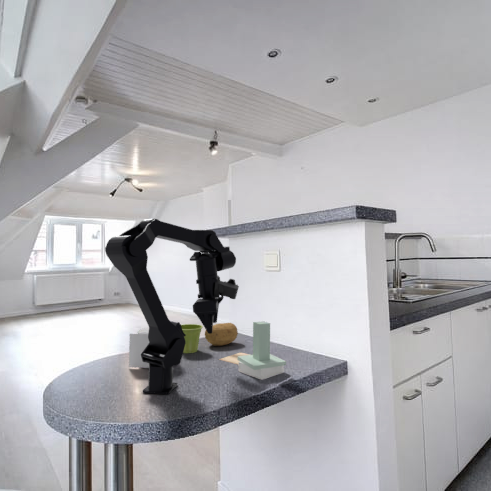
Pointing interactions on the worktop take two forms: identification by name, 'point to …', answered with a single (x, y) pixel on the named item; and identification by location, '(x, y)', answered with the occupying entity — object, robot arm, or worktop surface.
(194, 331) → the plant pot
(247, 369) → the dish
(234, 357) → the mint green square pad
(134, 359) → the toilet tissue
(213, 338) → the potato
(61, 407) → the worktop surface
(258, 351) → the mint green stamp
